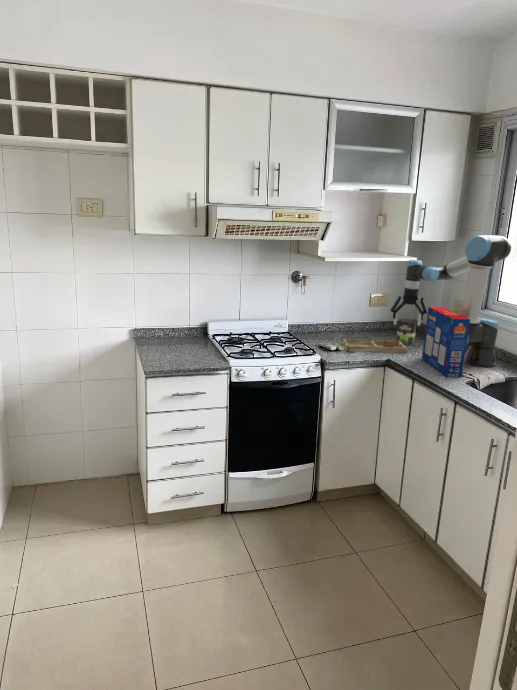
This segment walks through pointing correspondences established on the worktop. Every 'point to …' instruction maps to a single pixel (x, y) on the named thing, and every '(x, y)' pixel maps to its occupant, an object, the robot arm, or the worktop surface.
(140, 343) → the worktop surface
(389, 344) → the walnut cube
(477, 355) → the robot arm
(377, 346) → the wooden organizer
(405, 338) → the coffee can
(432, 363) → the blue cardboard box
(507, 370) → the worktop surface
